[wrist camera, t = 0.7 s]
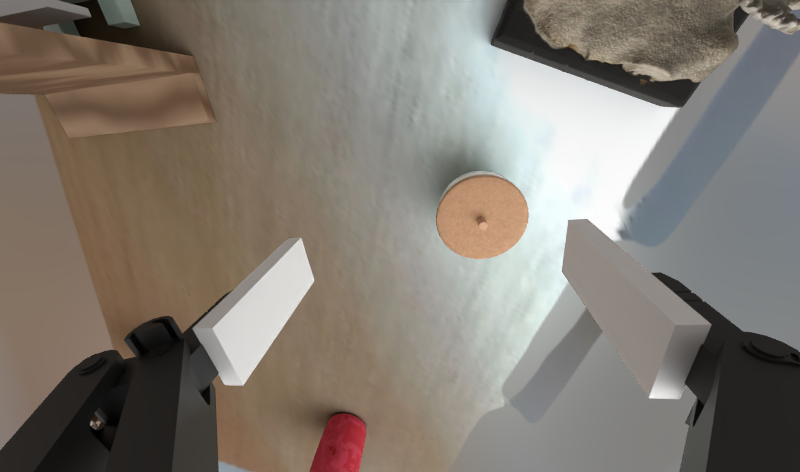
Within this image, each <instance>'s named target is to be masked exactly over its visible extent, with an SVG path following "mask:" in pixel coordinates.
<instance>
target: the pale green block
mask: <svg viewBox="0 0 800 472" xmlns="http://www.w3.org/2000/svg"><path fill="white" fill-rule="evenodd" d="M84 1H89V0H0V23H6V24H12V25H18V26H23V27H29V28H37V27H43V29H44V30H46V31H52V32H57V33H63V34H69V35H75V36H80V34H79V32H78V30H77V28H76V26H75V24H74V22H73V20H78V19H83V18H88V17H91V14H90V12H89V10H88V8H85V7H81V6H77V5H74V3H79V2H84ZM97 1H98V3H99V5H100V7H101V10H102V12H103V14H104V17H105V19H106V21H107V24H108V25H110V26H114V27H119V28H123V29H125V28H131V27H136V26H140V24H139V21H138V18H137V16H136V13H135V11H134V8H133V6H132V3H131V1H130V0H97Z"/></svg>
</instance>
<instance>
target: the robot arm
mask: <svg viewBox="0 0 800 472" xmlns="http://www.w3.org/2000/svg"><path fill="white" fill-rule="evenodd" d="M562 273H563V274H564V275H565V277H566V278H567V280H568V281H569V283H570V284H571V286H572V287H573V289H574V290H575V291H576V293H577V294H578V296H579V297H580V299H581V300H582V302H583V303H584V305H585V306H586V307H587V309H588V310H589V312H590V313H591V315H592V316H593V318H594V319H595V321H596V322H597V323H598V325H599V326H600V328H601V329H602V331H603V332H604V334H605V335H606V337H607V338H608V339H609V341H610V342H611V344H612V345H613V347H614V348H615V350H616V351H617V353H619V356H620V357H621V358H622V360H623V361H624V363H625V364H626V366H627V367H628V368H629V370H630V372H631V373H632V374H633V376H634V377H635V379H636V380H637V382H638V383H639V384H640V386H641V388H642V389H643V390H644V392H645V393H646V395H647V396H648V397H649V398H663V399H664V398H665V399H679V398H680V396H681V394H682V391H683V389H684V387H685V385H687V386H688V387H689V388H690V390H691V391H692V392H693V393H694V394H695V395H696V397H697V399H696V401H695V403H694V405H693V407H692V409H691V411H690V414H689V416H688V418H687V420H686V422H685V423H686V424H688V425H689V429H688V433H687V438H686V443H685V448H684V453H683V457H682V462H681V467H680V472H800V352H799V351H798V350H796V349H794V348H792V347H791V346H789V345H787V344H785V343H783V342H781V341H778V340H776V339H773V338H770V337H768V336H764V335H760V334H756V333H751V332H743V331H742V330H740V329H739V328H738V327H736V326H735V325H734V324H733V323H731V322H730V321H729V320H727V319H726V318H725V317H724V316H723V315H721V314H720V313H719V312H717V311H716V310H715V309H714V308H712V307H711V306H710V305H708V304H707V303H706V302H703V301H702V299H701V298H699V297H698V296H697V295H696V294H694V293H691V290H689V289H688V288H687V287H685V286H684V285H683V284H682V283H680V282H679V281H677V280H675V279H673V278H671V277H669V276H667V275H665V274H662V273H650V272H649V271H648V270H647V269H645V268H644V267H643V266H642V265H641V264H640V263H638V262H637V261H636V260H635V259H634V258H632V257H631V256H630V255H629V254H628V253H626V252H625V251H624V250H623V249H622V248H621V247H619V246H618V245H617V244H616V243H615V242H614V241H612V240H611V239H610V238H609V237H608V236H606V235H605V234H604V233H603V232H602V231H601V230H599V229H598V228H597V227H596V226H595V225H593V224H592V223H591V222H590V221H589V220H588V219H579V220H568V228H567V235H566V243H565V251H564V258H563V266H562ZM313 282H314V278H313V275H312V271H311V268H310V265H309V262H308V258H307V255H306V252H305V249H304V245H303V242H302V239H301V238H289V239H287V240H286V241H285V242H284V243H283V244H282V245H281V246H279V247H278V248H277V249H276V250H275V251H274V252H273V253H272V254H271V255H270V256H269V257H268V258H267V259H266V260H265V261H264V262H262V263H261V264H260V265H259V266H258V267H257V268H256V269H255V270H254V271H253V272H252V273H251V274H250V275H249V276H248V277H247V278H245V279H244V280H243V281H242V282H241V283H240V284H239V285H238V286H237V287H236V288H235V289H233V290H232V291H230V292H229V293H227V294H225V295H224V296H223V297H222V298H220V299H219V300H218V301H217V302H216V303H215V305H213V306H212V307H211V308H210V309H209V310H208V312H205V313H204V314H203V315H202V316H201V317H200V318H199V319H198V320H197V321H196V322H195V323H193V324H192V325H191V326H190V327H189V328H188V329H187V330H186V331H185V332H184V333H183V334H182V332H181V331H180V329H179V327H178V326H177V324H176V322H175V321H174V319H173V317H170V316H163V317H159V318H155V319H152V320H150V321H148V322H146V323H143V324H142V325H140V326H138V327H137V328H135V329H134V330H133V331H131V332H130V333H129V334H128V335H127V337H126V338H125V339H124V340H125V342H126V343H127V345H128V346H129V347H130V349H131V350H132V351H133V353H134V354H135V356H136V357H133V358H129V359H125V360H124V359H123V358H122V356H121V355H120V354H119V352H118V351H117V350H108V351H104V352H101V353H98V354H94V355H92V356H90V358H89V357H88V358H86V359H85V360H83V361H82V362H81V363H80V364H78V365H77V366H75V367H74V368H73V369H72V370H71V371H70V372H69V373H68V374H67V375H66V376H65V377H64V378H63V379H62V381H61V382H60V383H59V384H58V385H57V386H56V387H55V389H54V390H53V391H52V392H51V393H50V394H49V395H48V397H47V398H46V399H45V400H44V401H43V402H42V403H41V405H40V406H39V407H38V408H37V409H36V410H35V411H34V413H33V414H32V415H31V416H30V417H29V418H28V419H27V421H26V422H25V423H24V424H23V425H22V426H21V427H20V428H19V430H18V431H17V432H16V433H15V434H14V435H13V436H12V438H11V439H10V440H9V441H8V442H7V443H6V444H5V446H4V447H3V448H2V449H1V450H0V472H219V471H218V446H217V421H216V396H215V388H214V385H213V384H212V381H213V380H214V378H215V377H216V376H217V375H218V374H219V376H220V378H221V379H222V381H223V383H224V385H242V386H243V385H244V384H245V382H246V381H247V379H248V378H249V376H250V375H251V373H252V372H253V370H254V369H255V367H256V366H257V364H258V363H259V361H260V360H261V359H262V357H263V356H264V354H265V353H266V351H267V350H268V348H269V347H270V345H271V344H272V342H273V341H274V339H275V338H276V336H277V335H278V334H279V332H280V331H281V329H282V328H283V326H284V325H285V323H286V322H287V320H288V319H289V317H290V316H291V314H292V313H293V311H294V310H295V309H296V307H297V306H298V304H299V303H300V301H301V300H302V298H303V297H304V295H305V294H306V292H307V291H308V289H309V288H310V286H311V285H312V284H313ZM94 414H95V415H96V416H97V417H98V418H99V419H100V420H101V421H102V422H101V423H100V425H99V427H98V428H97V429H96V430H95V429H93V428H92V427H91V426H90V422H91V420H92V417H93V415H94Z"/></svg>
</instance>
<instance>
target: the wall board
mask: <svg viewBox="0 0 800 472" xmlns="http://www.w3.org/2000/svg"><path fill="white" fill-rule="evenodd" d="M0 94H43V95H45V96H46V98H47V99H48V101H49V103H50V105H51V106H52V108H53V110H54V112H55V114H56V115H57V117H58V119H59V121H60V123H61V124H62V126H63V128H64V130H65V132H66V133H67V135H68V137H69V138H78V137H87V136H96V135H105V134H113V133H122V132H131V131H139V130H148V129H157V128H165V127H174V126H183V125H191V124H200V123H209V122H216V119H215V116H214V113H213V110H212V107H211V104H210V101H209V99H208V96H207V93H206V90H205V87H204V84H203V81H202V78H201V75H200V73H199V70H198V67H197V64H196V61H195V58H194V56H189V55H183V54H177V53H171V52H166V51H160V50H154V49H149V48H143V47H137V46H132V45H126V44H120V43H114V42H109V41H103V40H97V39H92V38H86V37H80V36H75V35H69V34H63V33H57V32H52V31H46V30H40V29H35V28H29V27H23V26H18V25H12V24H6V23H0Z"/></svg>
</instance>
